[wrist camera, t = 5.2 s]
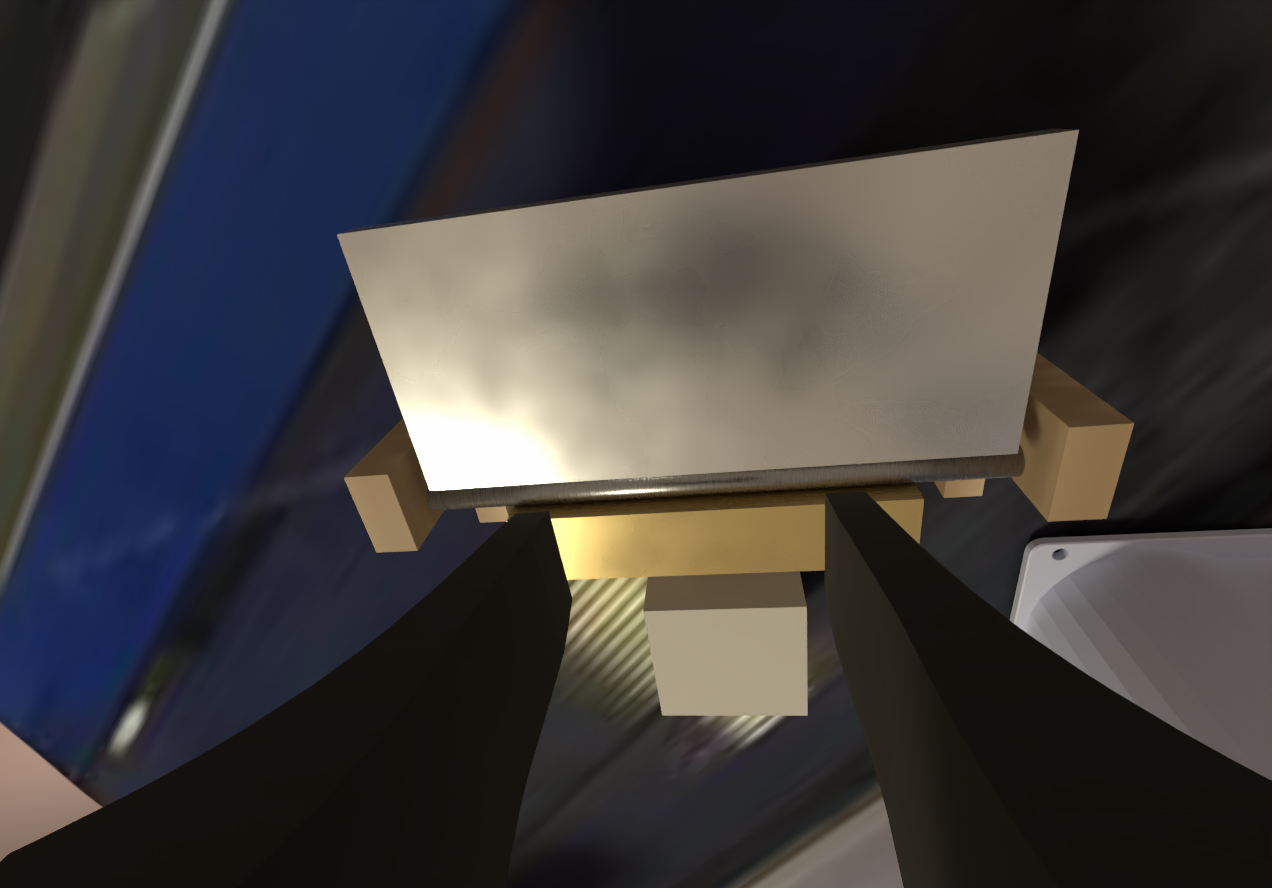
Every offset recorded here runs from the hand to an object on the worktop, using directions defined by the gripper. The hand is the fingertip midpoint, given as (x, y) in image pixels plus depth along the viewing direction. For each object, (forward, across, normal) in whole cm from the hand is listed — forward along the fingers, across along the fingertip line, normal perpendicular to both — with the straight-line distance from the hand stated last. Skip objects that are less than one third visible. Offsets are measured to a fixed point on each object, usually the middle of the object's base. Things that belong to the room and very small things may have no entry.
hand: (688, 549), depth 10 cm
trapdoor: (+5, 0, -1) cm, 5 cm away
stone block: (+11, 0, +9) cm, 14 cm away
